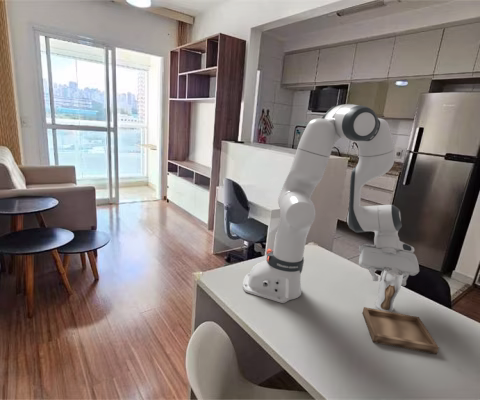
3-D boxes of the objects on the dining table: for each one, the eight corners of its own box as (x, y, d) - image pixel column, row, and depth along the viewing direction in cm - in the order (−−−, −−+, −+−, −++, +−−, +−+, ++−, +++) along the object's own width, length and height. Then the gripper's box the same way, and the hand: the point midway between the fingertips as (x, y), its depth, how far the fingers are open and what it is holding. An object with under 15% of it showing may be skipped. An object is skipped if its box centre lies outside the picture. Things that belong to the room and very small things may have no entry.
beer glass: (396, 314, 103) (407, 277, 99) (375, 310, 104) (385, 273, 100) (390, 303, 109) (400, 267, 105) (371, 299, 111) (380, 264, 107)
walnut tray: (372, 342, 88) (374, 335, 88) (362, 313, 102) (363, 307, 101) (436, 354, 86) (438, 347, 85) (416, 323, 99) (418, 317, 99)
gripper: (361, 239, 110) (362, 275, 104) (418, 248, 107) (423, 285, 101) (356, 245, 116) (356, 280, 109) (411, 253, 113) (414, 289, 106)
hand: (389, 283), depth 105 cm, fingers open, 8 cm apart
